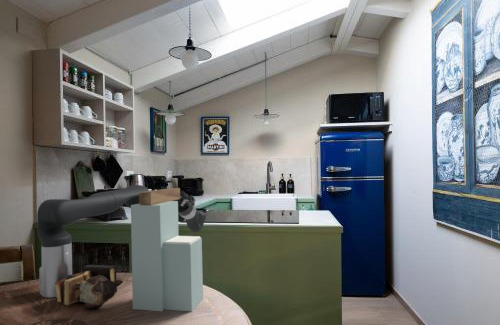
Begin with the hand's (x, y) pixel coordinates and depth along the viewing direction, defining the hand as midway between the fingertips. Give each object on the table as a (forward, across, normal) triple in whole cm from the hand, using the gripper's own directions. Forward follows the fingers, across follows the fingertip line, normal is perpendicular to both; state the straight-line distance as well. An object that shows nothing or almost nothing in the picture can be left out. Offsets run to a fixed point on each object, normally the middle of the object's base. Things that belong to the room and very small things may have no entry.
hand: (171, 193), depth 129 cm
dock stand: (+6, -11, -42) cm, 44 cm away
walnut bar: (+19, -7, -12) cm, 23 cm away
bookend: (+8, +14, -44) cm, 46 cm away
